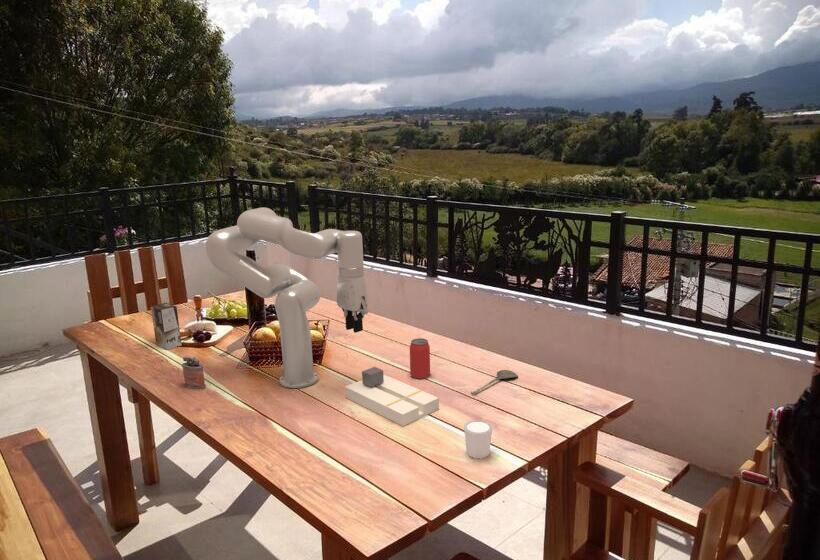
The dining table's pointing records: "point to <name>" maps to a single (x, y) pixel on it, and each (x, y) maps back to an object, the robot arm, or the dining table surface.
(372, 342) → the dining table surface
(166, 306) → the coffee box
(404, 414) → the slider console
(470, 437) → the white cup
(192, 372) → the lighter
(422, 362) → the beer can
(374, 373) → the fader knob
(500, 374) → the soupspoon
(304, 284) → the robot arm
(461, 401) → the dining table surface
